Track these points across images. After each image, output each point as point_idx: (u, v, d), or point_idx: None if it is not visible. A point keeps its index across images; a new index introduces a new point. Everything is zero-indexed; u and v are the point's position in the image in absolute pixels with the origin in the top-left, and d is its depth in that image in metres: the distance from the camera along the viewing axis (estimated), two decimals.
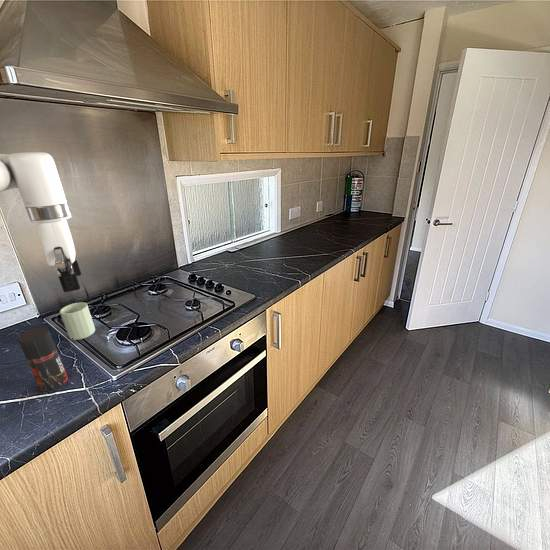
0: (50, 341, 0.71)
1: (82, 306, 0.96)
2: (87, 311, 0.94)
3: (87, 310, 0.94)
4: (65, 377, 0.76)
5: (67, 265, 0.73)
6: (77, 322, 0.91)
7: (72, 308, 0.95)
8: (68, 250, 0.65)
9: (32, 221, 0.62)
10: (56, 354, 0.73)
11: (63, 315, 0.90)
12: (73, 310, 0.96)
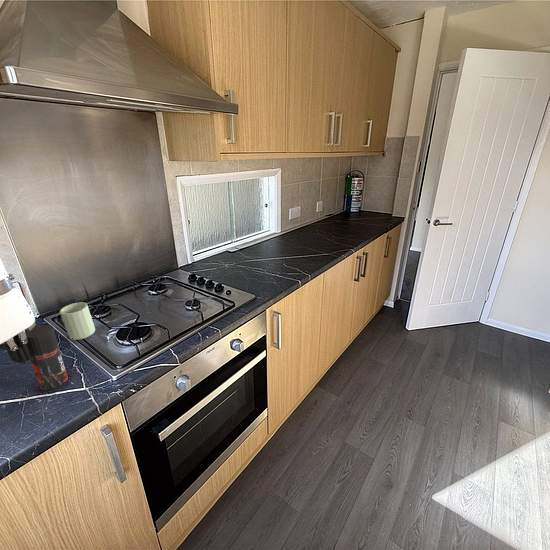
0: (53, 338, 0.72)
1: (82, 306, 0.96)
2: (87, 311, 0.94)
3: (87, 310, 0.94)
4: (65, 376, 0.76)
5: None
6: (77, 322, 0.91)
7: (72, 308, 0.95)
8: None
9: None
10: (58, 352, 0.74)
11: (63, 315, 0.90)
12: (73, 310, 0.96)
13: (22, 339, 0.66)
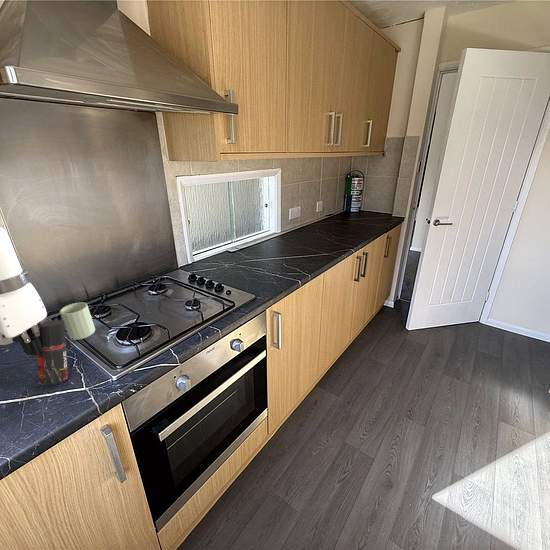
0: (63, 332, 0.75)
1: (82, 306, 0.96)
2: (87, 311, 0.94)
3: (87, 310, 0.94)
4: (66, 374, 0.76)
5: None
6: (77, 322, 0.91)
7: (72, 308, 0.95)
8: (2, 327, 0.61)
9: None
10: (64, 347, 0.75)
11: (63, 315, 0.90)
12: (73, 310, 0.96)
13: (35, 332, 0.69)
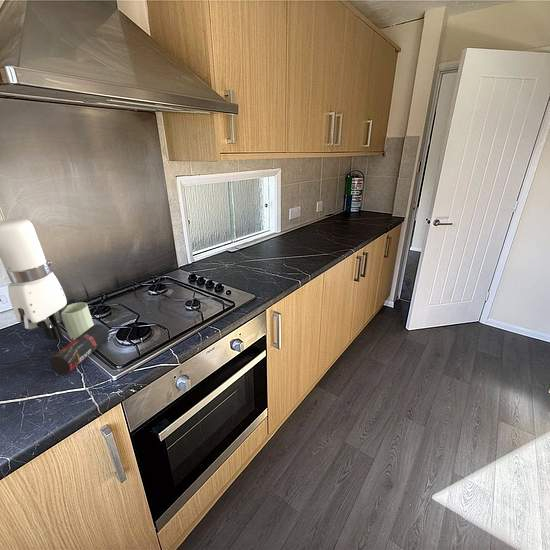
0: (103, 339, 0.89)
1: (82, 306, 0.96)
2: (87, 311, 0.94)
3: (87, 310, 0.94)
4: (73, 365, 0.78)
5: None
6: (77, 322, 0.91)
7: (72, 308, 0.95)
8: (28, 312, 0.67)
9: None
10: (93, 349, 0.85)
11: (63, 315, 0.90)
12: (73, 310, 0.96)
13: (56, 319, 0.74)
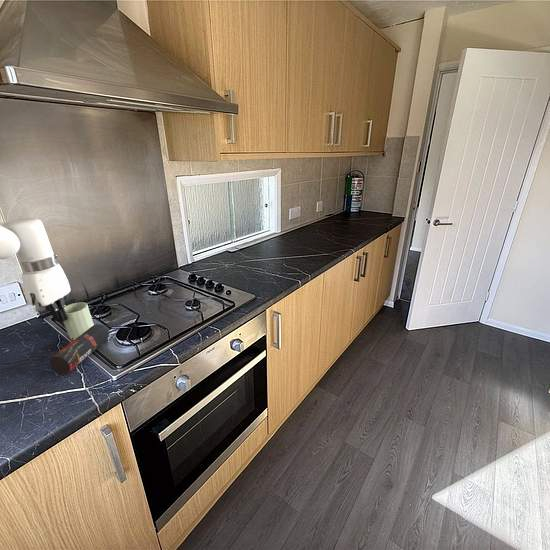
0: (103, 339, 0.89)
1: (82, 306, 0.96)
2: (87, 311, 0.94)
3: (87, 310, 0.94)
4: (73, 365, 0.78)
5: None
6: (78, 322, 0.91)
7: (72, 308, 0.95)
8: (39, 297, 0.79)
9: None
10: (93, 349, 0.85)
11: None
12: (73, 310, 0.96)
13: (62, 303, 0.87)
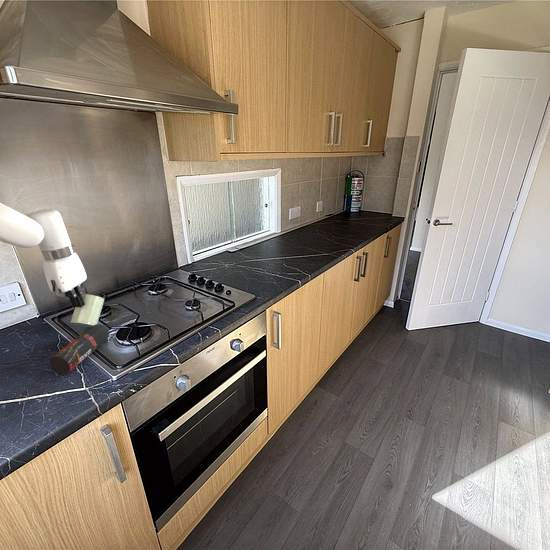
0: (103, 339, 0.89)
1: None
2: (102, 303, 1.00)
3: (102, 302, 1.00)
4: (73, 365, 0.78)
5: None
6: (90, 305, 0.96)
7: None
8: (59, 283, 0.85)
9: None
10: (93, 349, 0.85)
11: (82, 295, 0.96)
12: None
13: (79, 290, 0.92)
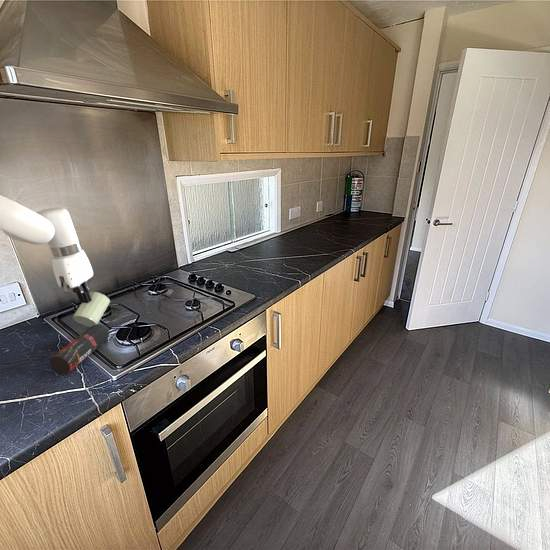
0: (103, 339, 0.89)
1: None
2: (107, 304, 1.02)
3: (108, 303, 1.02)
4: (73, 365, 0.78)
5: None
6: (96, 302, 0.98)
7: None
8: (67, 279, 0.88)
9: None
10: (93, 349, 0.85)
11: (91, 292, 1.00)
12: None
13: (86, 286, 0.95)
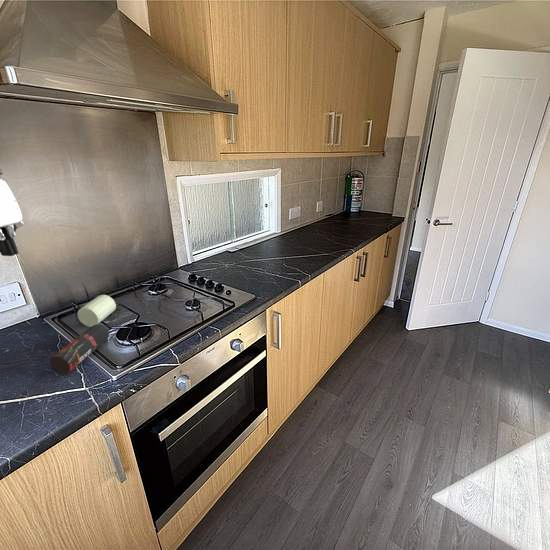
0: (103, 339, 0.89)
1: None
2: (113, 309, 1.05)
3: (113, 308, 1.06)
4: (73, 365, 0.78)
5: None
6: (104, 302, 1.02)
7: None
8: None
9: None
10: (93, 349, 0.85)
11: (101, 295, 1.05)
12: None
13: (10, 232, 0.70)
